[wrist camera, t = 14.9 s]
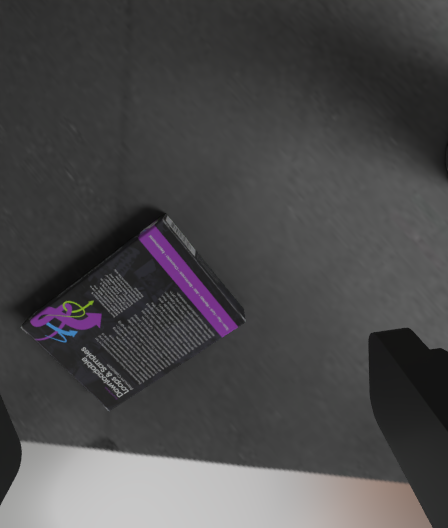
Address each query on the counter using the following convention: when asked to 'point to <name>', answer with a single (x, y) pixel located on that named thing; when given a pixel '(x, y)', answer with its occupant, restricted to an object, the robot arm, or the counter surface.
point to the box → (136, 315)
